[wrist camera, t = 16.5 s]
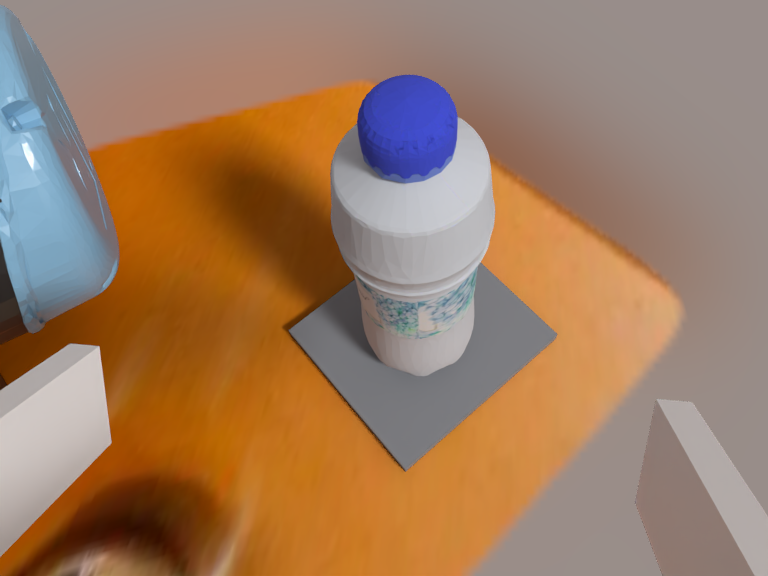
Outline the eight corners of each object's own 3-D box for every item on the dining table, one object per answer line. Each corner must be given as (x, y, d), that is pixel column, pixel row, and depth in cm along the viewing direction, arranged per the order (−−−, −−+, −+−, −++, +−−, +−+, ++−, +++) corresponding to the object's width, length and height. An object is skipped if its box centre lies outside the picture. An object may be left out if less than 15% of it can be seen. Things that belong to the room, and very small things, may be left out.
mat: (291, 335, 39) (288, 330, 38) (433, 224, 42) (433, 218, 41) (405, 471, 35) (404, 469, 34) (555, 339, 38) (557, 334, 37)
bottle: (363, 287, 39) (304, 32, 21) (469, 281, 39) (500, 17, 21) (364, 390, 36) (298, 195, 18) (480, 384, 36) (526, 180, 18)
